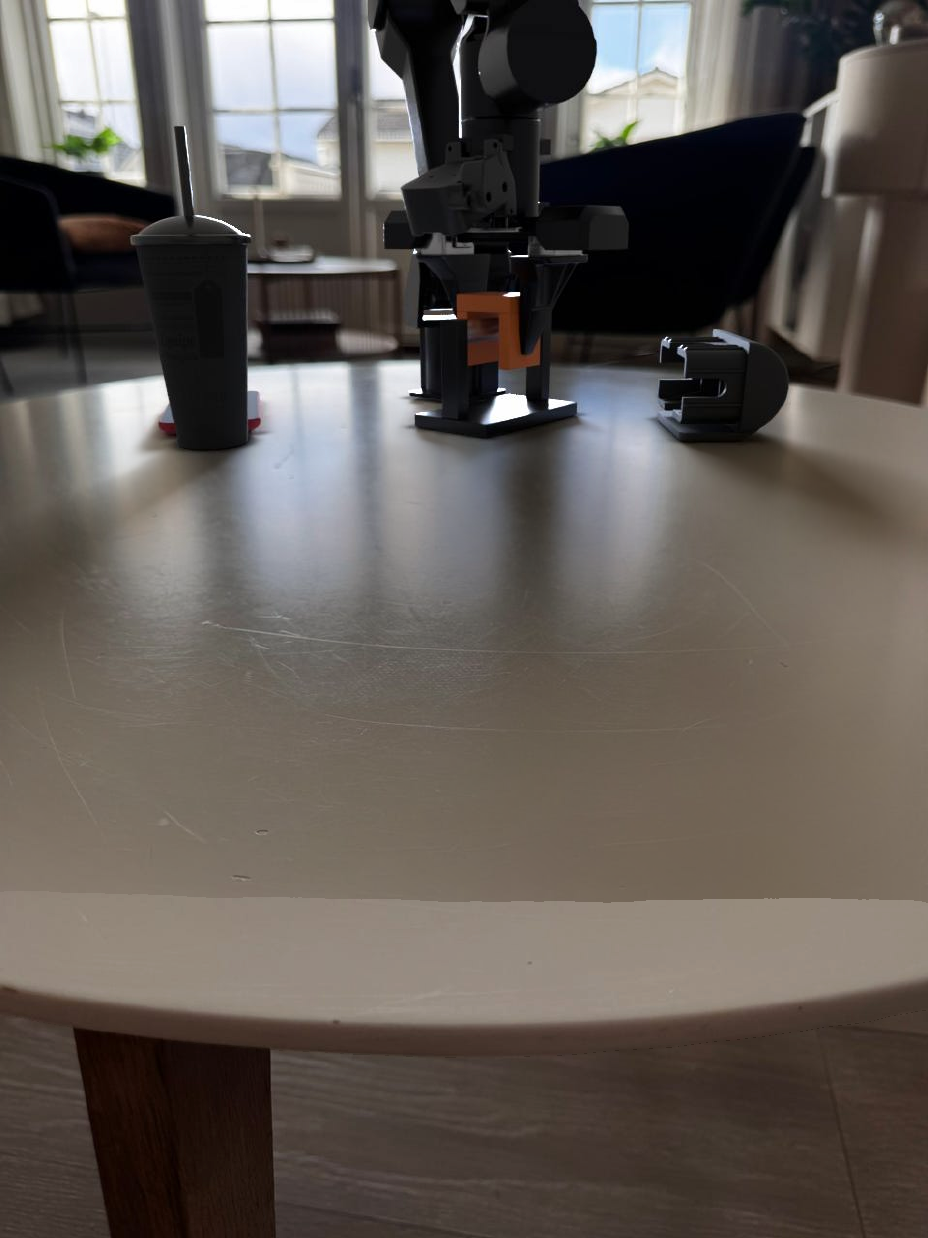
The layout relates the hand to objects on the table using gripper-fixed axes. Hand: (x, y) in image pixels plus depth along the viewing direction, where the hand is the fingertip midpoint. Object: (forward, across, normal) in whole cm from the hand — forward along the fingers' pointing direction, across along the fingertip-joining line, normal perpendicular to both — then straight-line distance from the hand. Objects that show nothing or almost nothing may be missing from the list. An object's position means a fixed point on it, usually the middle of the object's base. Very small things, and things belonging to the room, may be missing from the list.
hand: (498, 351), depth 71 cm
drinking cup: (+5, -11, -19) cm, 23 cm away
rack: (+5, 0, 0) cm, 5 cm away
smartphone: (+5, -19, -13) cm, 24 cm away
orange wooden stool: (+1, 0, 0) cm, 1 cm away
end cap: (+5, +15, +7) cm, 17 cm away
